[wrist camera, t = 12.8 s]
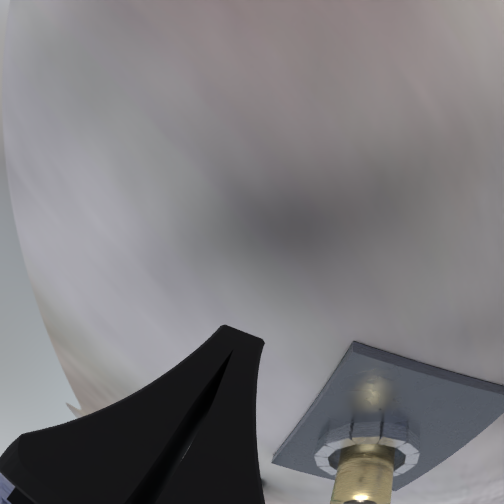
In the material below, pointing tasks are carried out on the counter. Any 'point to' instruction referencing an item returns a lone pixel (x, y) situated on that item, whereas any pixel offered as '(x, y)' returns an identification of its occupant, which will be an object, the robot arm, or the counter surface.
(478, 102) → the counter surface
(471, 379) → the jig plate
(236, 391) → the robot arm
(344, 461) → the brass bushing
